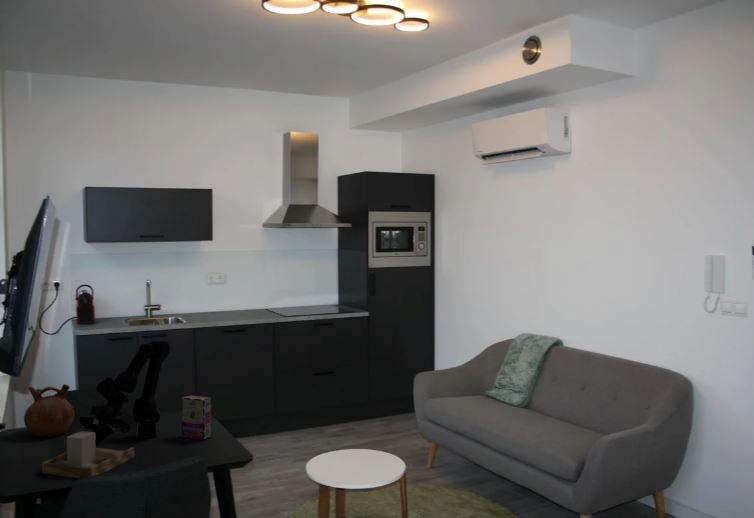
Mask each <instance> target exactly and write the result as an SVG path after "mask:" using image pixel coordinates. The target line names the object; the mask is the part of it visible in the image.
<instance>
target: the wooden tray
mask: <svg viewBox="0 0 754 518" xmlns="http://www.w3.org/2000/svg"><path fill="white" fill-rule="evenodd" d="M135 449H136V448H135V447H133V446H132V447H129V448H128V449H126V450H121V449H120V450H119V449H111V448H103V447H102V448H101V447H96V461H94V462H92V463H90V464H88V465H86V466H84V467H79V466H71V465H67V451H66V452H63V453H61V454H59V455H56V456H55V457H52V458H50V459H48V460H45V461H43V462H42V463H41V467H42V468H41V469H42V470H41V471H42V474H44V475H50V474H51V475H53V476H59V477H66V478H67V477H69V478H74V479H75V478H76V479H83V478H84V477H89V476H95V475H99V474H101V475H102V474H104V473H106V472H108V471H111V469H114V468H116V467H117V466H120V465H122V464H123V463H125V462H128V461H129V460H131V459H133V458H135V455H136V454H135ZM99 476H100V475H99Z"/></svg>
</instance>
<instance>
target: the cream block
mask: <svg viewBox="0 0 754 518" xmlns="http://www.w3.org/2000/svg"><path fill="white" fill-rule="evenodd" d="M96 448H97V446H96V444H95V433H94V431H93V432H92V431H83V430H82V431H81V430H80V431H78V432H75V433H73V434H71V435H69V436H67V437H66V452H67V465H71V466H79V467H84V466H86V465H88V464H90V463H92V462H94V461H96Z"/></svg>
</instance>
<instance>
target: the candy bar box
mask: <svg viewBox="0 0 754 518" xmlns="http://www.w3.org/2000/svg"><path fill="white" fill-rule="evenodd" d="M182 436H186V437H192V438H198V439H206V438H208V439H210V438H209V437H211V438H212V397H209V396H208V397H207V396H202V395H201V396H199V395H191V394H190V395H185V396H182V397H181V437H182ZM198 439H197V440H198ZM206 440H207V439H206Z"/></svg>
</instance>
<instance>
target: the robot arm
mask: <svg viewBox="0 0 754 518" xmlns="http://www.w3.org/2000/svg"><path fill="white" fill-rule="evenodd" d="M170 351H171V346H170V344H169V342H168V341H166V340H152V341H151V342H148V343H147V342H145V343H141V344H140V345H139V347H138V351H137V353H136V354H135V355H134V357H133V358H132V359H131V362H130V363H129V365H128V366H127V367H126V369H125V370H123V371H122V372H121V373H119V374H118V375H117V376H116V378H115V379H114V380H113V378H112V377H109V376H108V377H107V376H106V378H105V379H104V380H101V381H99V383H98V384H97V385H96V387H95V390H96V392H97V393H98V394H99V395H100V396H101V397H102V398H103V400H104V401H106V404H105V405H104V404H103V405H102V406H100V405H91V409H90V413H89V415H90V416H89V415H81V416H80V418H79V420H78V421H77V423H79V424H80V425H81V427H83V428H84V429H86V430H90V431H93V432H94V433H95V444H96V447H97V446H98V445H99V444H101V443H102V442H103V441H104V440H105V439H107V438H108V437H109V436H111V435H114V434H115V432H114V431H115V430H116V429H120V430H119V431H120V433H121V434H129V432H130V431H131V425H130V424H129V423H128V422H127V420H126V419H123V418H118V417H121V416H122V413H120V412H121V410H122V408H123V406H124V404H128V403H130V402H129V398H128V395H126V394H132V393H134V391H135V390H136V387H137V384H138V377H139V376H140V375H139V374H140V373H141V371H142V370H143V368H144V366H145V365H146V363H148V360H149V363H148V366H147V371H146V375H145V379H144V384H143V388H142V392H141V396H140V397H139V398H138V399H137V398H136V399H135V400H134V404H133V408H132V417H133V419H134V422H135V423H138V424H137V426H136V428H137V433H136V434H137V437H138V439H139V440H144V439H145V438H147V439H153V438H158V437H157V423H159V421H160V420H161V414H160V413H159V412H158V410H157V403H156V402H157V401H156V400H155V395H156V391H157V386H158V382H159V378H160V373H161V370H162V369H161V368H162V364H163V363H164V362H165V360H167V358H168V356H169V354H170ZM92 415H93V416H95V417H94V418H95V419H94V418H93V416H92ZM145 440H146V439H145Z"/></svg>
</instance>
